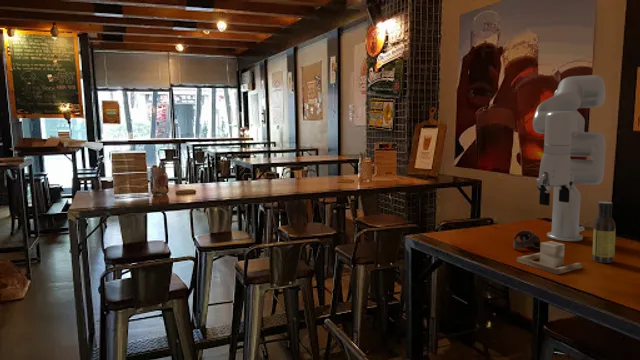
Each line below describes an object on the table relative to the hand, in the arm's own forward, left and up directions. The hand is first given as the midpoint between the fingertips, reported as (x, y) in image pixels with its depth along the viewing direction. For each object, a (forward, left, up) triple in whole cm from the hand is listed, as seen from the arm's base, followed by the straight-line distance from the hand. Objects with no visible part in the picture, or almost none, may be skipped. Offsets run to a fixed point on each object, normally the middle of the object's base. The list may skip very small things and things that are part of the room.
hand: (554, 203), depth 143 cm
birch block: (0, 0, -20) cm, 20 cm away
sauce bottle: (-18, +6, -21) cm, 28 cm away
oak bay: (+1, 0, -20) cm, 20 cm away
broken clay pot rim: (-8, -16, -21) cm, 27 cm away
